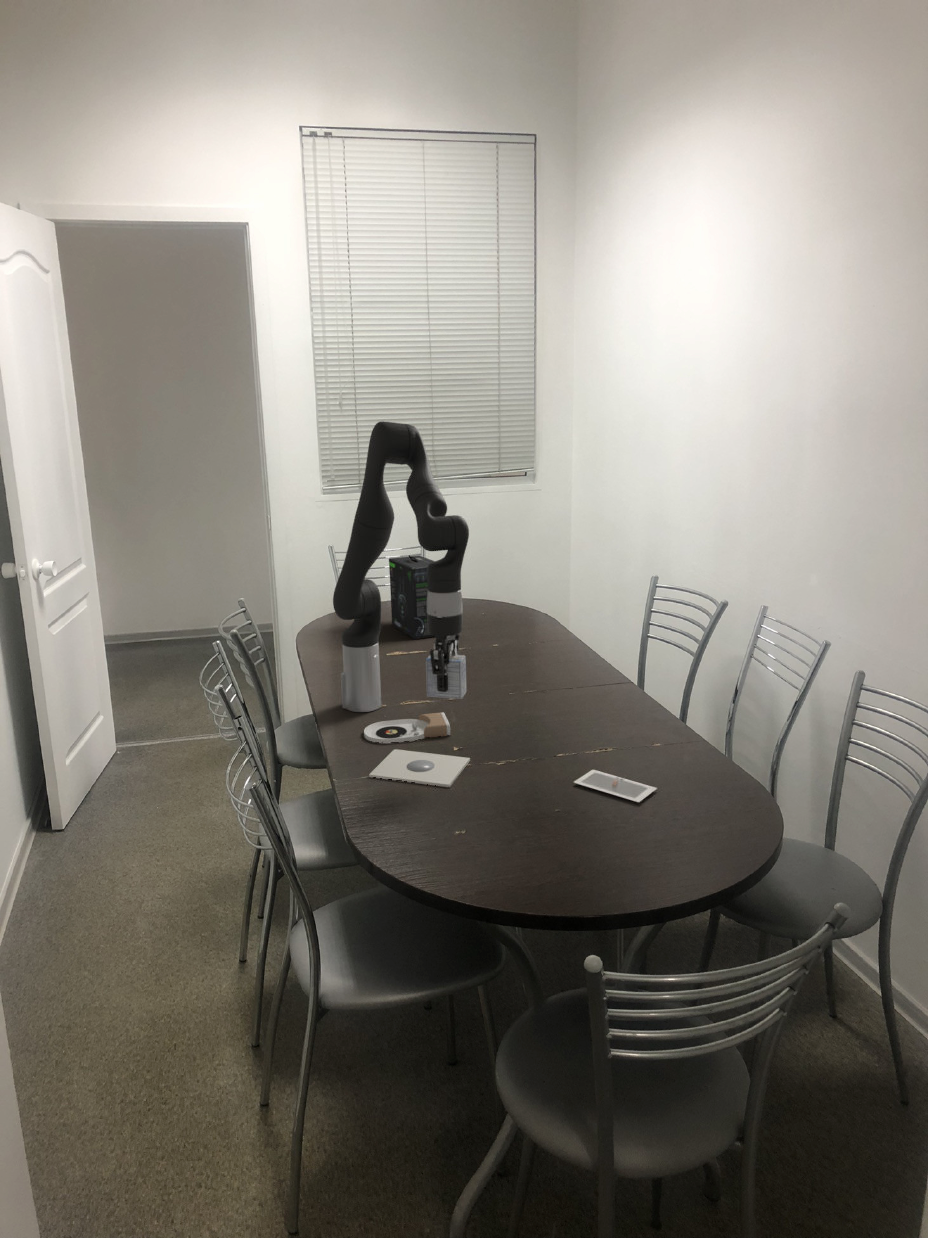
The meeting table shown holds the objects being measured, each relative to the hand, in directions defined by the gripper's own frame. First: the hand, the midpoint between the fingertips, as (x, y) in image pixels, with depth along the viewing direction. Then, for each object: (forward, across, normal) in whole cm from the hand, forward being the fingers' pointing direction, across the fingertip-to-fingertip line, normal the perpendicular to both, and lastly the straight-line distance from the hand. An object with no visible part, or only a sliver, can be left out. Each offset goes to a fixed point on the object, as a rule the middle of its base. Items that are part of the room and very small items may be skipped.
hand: (446, 686), depth 189 cm
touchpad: (+18, +5, +37) cm, 41 cm away
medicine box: (+2, 0, 0) cm, 2 cm away
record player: (+18, -13, -15) cm, 27 cm away
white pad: (+17, +6, -4) cm, 19 cm away
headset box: (+18, -102, -42) cm, 112 cm away
